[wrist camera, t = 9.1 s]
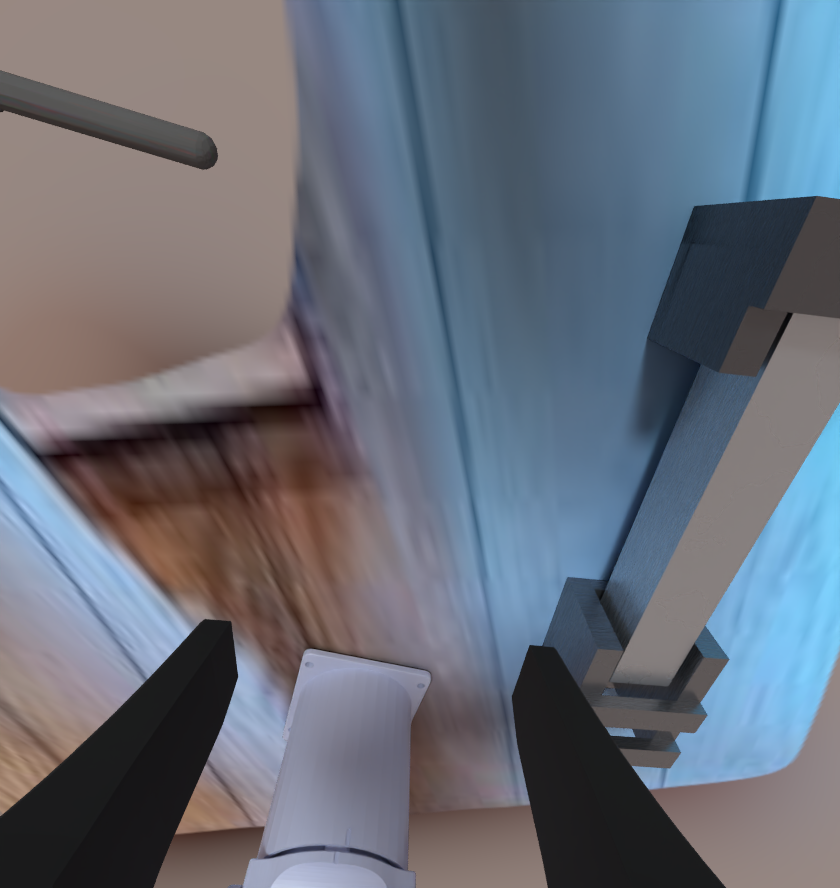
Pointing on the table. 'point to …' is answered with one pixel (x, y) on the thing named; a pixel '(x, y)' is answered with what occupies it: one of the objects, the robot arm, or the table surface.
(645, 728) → the sleeve
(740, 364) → the socket
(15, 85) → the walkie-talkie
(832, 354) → the rod
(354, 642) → the table surface
